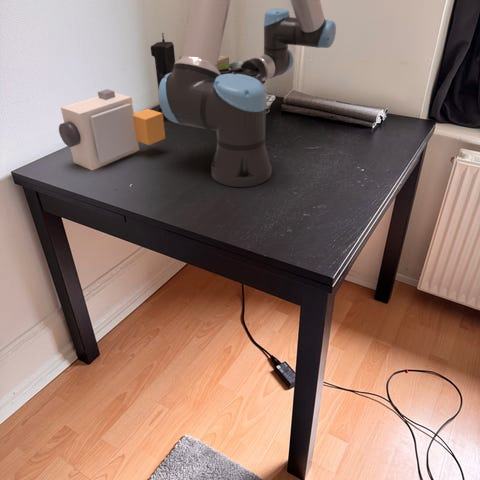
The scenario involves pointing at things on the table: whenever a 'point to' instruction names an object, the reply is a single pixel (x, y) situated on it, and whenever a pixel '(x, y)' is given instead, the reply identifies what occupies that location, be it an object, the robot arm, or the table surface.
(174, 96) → the robot arm
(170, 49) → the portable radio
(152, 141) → the side door
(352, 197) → the table surface
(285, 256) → the table surface
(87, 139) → the camera housing
